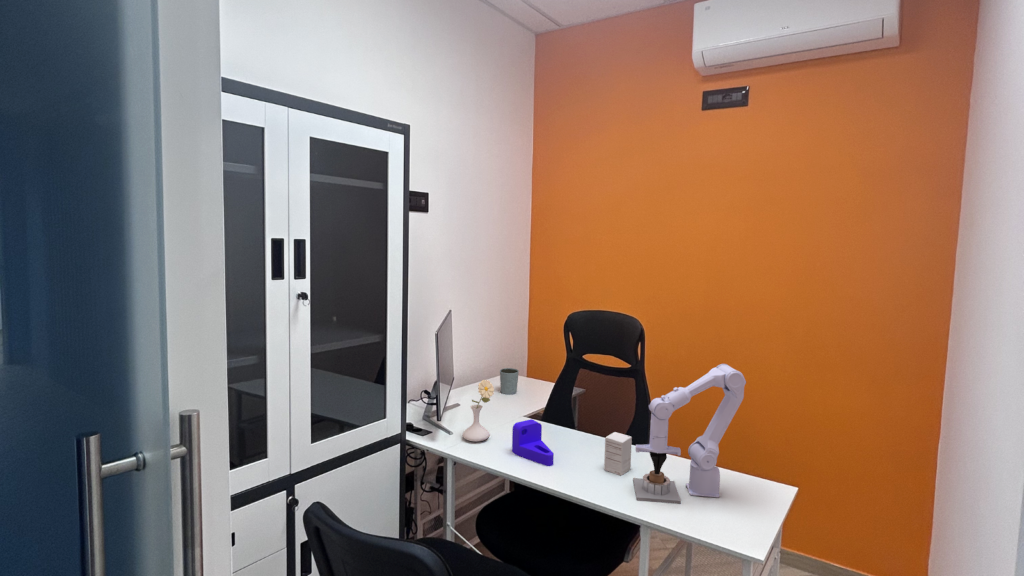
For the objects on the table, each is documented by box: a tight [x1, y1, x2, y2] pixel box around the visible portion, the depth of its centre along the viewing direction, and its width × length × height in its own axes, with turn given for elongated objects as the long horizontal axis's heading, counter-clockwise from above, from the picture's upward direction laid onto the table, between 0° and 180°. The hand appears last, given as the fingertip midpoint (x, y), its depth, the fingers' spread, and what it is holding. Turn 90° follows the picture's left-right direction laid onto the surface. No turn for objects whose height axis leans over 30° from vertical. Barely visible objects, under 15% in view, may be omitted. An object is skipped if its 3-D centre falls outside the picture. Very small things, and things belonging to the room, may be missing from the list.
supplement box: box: [603, 431, 633, 476], centre depth 200 cm, size 7×7×13 cm
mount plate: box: [632, 477, 682, 505], centre depth 185 cm, size 14×14×1 cm
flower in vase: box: [462, 379, 495, 442], centre depth 227 cm, size 13×11×25 cm
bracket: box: [511, 418, 554, 467], centre depth 210 cm, size 18×11×12 cm, turn 34°
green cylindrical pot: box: [499, 367, 520, 396], centre depth 291 cm, size 10×10×12 cm
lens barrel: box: [642, 473, 671, 495], centre depth 185 cm, size 9×9×4 cm
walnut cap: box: [648, 469, 665, 484], centre depth 184 cm, size 5×5×6 cm
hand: (656, 473), depth 184 cm, fingers closed, pressing on walnut cap
